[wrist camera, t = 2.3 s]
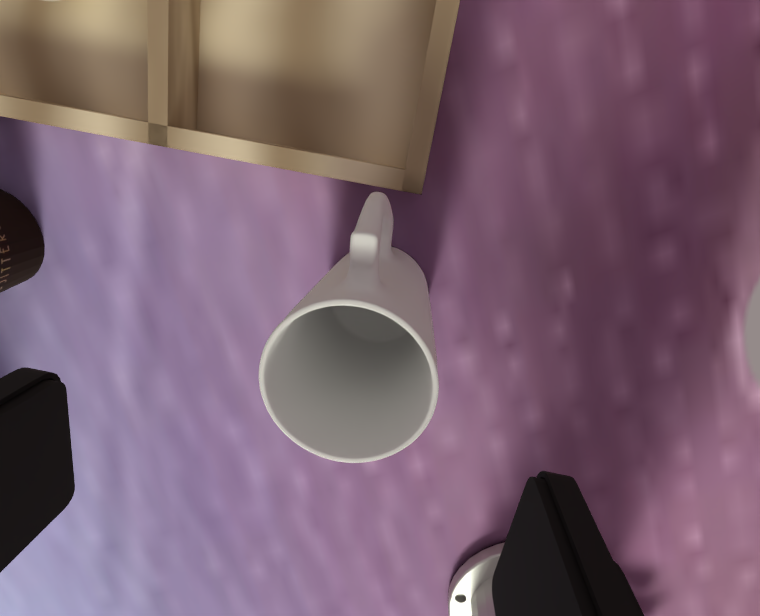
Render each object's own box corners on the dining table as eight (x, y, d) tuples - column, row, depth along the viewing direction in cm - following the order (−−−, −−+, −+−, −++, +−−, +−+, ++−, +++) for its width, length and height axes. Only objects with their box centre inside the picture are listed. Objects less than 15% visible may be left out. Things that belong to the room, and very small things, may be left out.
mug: (423, 349, 28) (424, 475, 17) (322, 335, 29) (256, 449, 17) (448, 190, 25) (470, 216, 14) (333, 176, 25) (262, 190, 14)
